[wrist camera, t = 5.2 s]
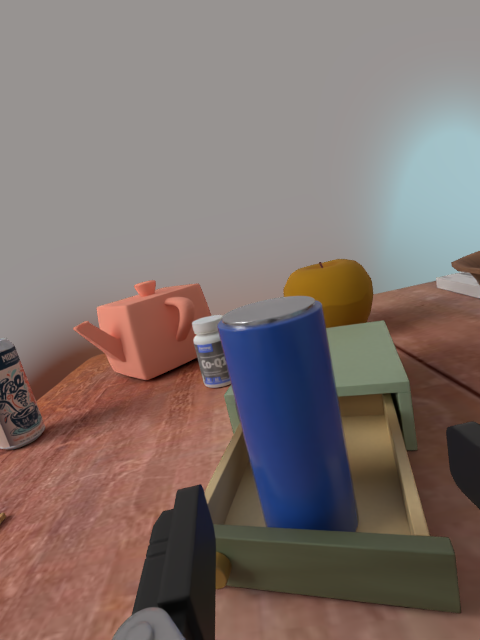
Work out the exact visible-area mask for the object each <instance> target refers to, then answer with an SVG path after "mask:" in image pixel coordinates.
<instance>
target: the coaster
mask: <svg viewBox="0 0 480 640" xmlns="http://www.w3.org/2000/svg"><path fill="white" fill-rule="evenodd" d="M5 517H6V515H5V513H1V514H0V524H1V522H2V521H3V520H4V519H5Z"/></svg>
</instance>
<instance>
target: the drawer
mask: <svg viewBox="0 0 480 640" xmlns="http://www.w3.org/2000/svg"><path fill="white" fill-rule="evenodd" d="M338 399H339V405H340V411H341V417H342V422H343V428H344V434H345V440H346V446H347V451H348V457H349V463H350V469H351V474H352V480H353V486H354V492H355V498H356V503H357V509H358V516H359V521H358V527H357V529H356V532H344V531H326V530H309V529H291V528H273V527H266V525H265V521H264V517H263V513H262V509H261V505H260V501H259V497H258V492H257V488H256V484H255V480H254V476H253V472H252V468H251V464H250V460H249V456H248V451H247V447H246V443H245V439H244V435H243V431H242V427H241V423H239V425H238V427H237V429H236V431H235V433H234V435H233V437H232V439H231V441H230V443H229V445H228V447H227V449H226V451H225V453H224V455H223V457H222V459H221V461H220V463H219V464H218V466H217V468H216V470H215V472H214V474H213V476H212V478H211V480H210V482H209V484H208V486H207V488H206V490H205V492H204V494H205V497H206V501H207V504H208V508H209V512H210V515H211V519H212V522H213V526H214V531H215V538H216V589H221V588H224V587H225V586H234V587H242V588H250V589H259V590H267V591H276V592H284V593H293V594H301V595H310V596H318V597H326V598H335V599H343V600H352V601H360V602H369V603H377V604H386V605H394V606H402V607H411V608H419V609H428V610H436V611H445V612H453V613H461V606H460V596H459V586H458V577H457V567H456V557H455V552H454V549H453V546H452V543H451V540H450V539H449V538H448V537H433V536H430V533H429V530H428V526H427V523H426V519H425V515H424V512H423V508H422V504H421V501H420V497H419V494H418V490H417V486H416V483H415V479H414V476H413V472H412V468H411V465H410V461H409V458H408V454H407V450H406V447H405V443H404V440H403V436H402V432H401V429H400V425H399V422H398V418H397V414H396V411H395V407H394V404H393V400H392V396H391V393H385V394H370V395H355V396H340V397H338Z"/></svg>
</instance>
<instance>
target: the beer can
mask: <svg viewBox="0 0 480 640" xmlns="http://www.w3.org/2000/svg"><path fill="white" fill-rule="evenodd" d="M44 429H45V424H44V422H43V419H42V417H41V414H40V411H39V409H38V406H37V403H36V401H35V398H34V396H33V393H32V390H31V388H30V385H29V383H28V380H27V377H26V375H25V372H24V369H23V367H22V364H21V362H20V359H19V356H18V354H17V351H16V349H15V346H14V344H12V343H11V342H10V341H9V340H7V338H2V339H0V448H1V449H16V448H20V447H22V446H25V445H27V444H29V443H31V442H33V441H34V440H36V439H37V438H38V437H39V436H40V435H41V434H42V432H43V431H44Z"/></svg>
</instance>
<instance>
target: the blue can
mask: <svg viewBox="0 0 480 640" xmlns="http://www.w3.org/2000/svg"><path fill="white" fill-rule="evenodd" d="M217 328H218V333H219V337H220V341H221V345H222V349H223V353H224V357H225V361H226V365H227V369H228V374H229V378H230V382H231V386H232V390H233V394H234V398H235V402H236V406H237V410H238V415H239V419H240V423H241V427H242V431H243V435H244V439H245V443H246V447H247V451H248V456H249V460H250V464H251V468H252V472H253V476H254V480H255V484H256V488H257V492H258V497H259V501H260V505H261V509H262V513H263V517H264V521H265V525H266V527H273V528H291V529H309V530H326V531H344V532H356V529H357V527H358V521H359V516H358V509H357V503H356V498H355V492H354V486H353V480H352V474H351V469H350V463H349V457H348V451H347V446H346V440H345V434H344V428H343V422H342V417H341V411H340V405H339V399H338V393H337V388H336V382H335V376H334V370H333V364H332V359H331V353H330V347H329V341H328V335H327V330H326V324H325V318H324V312H323V306H322V304H321V302H319V301H317V300H315V299H314V298H312V297H309V296H289V297H281V298H274V299H269V300H264V301H260V302H256V303H252V304H248V305H245V306H242V307H239V308H237V309H234V310H232V311H230V312H228V313H227V314H225V315H224V316H223V317H222V320H221V321H219V322H218V324H217Z"/></svg>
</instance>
